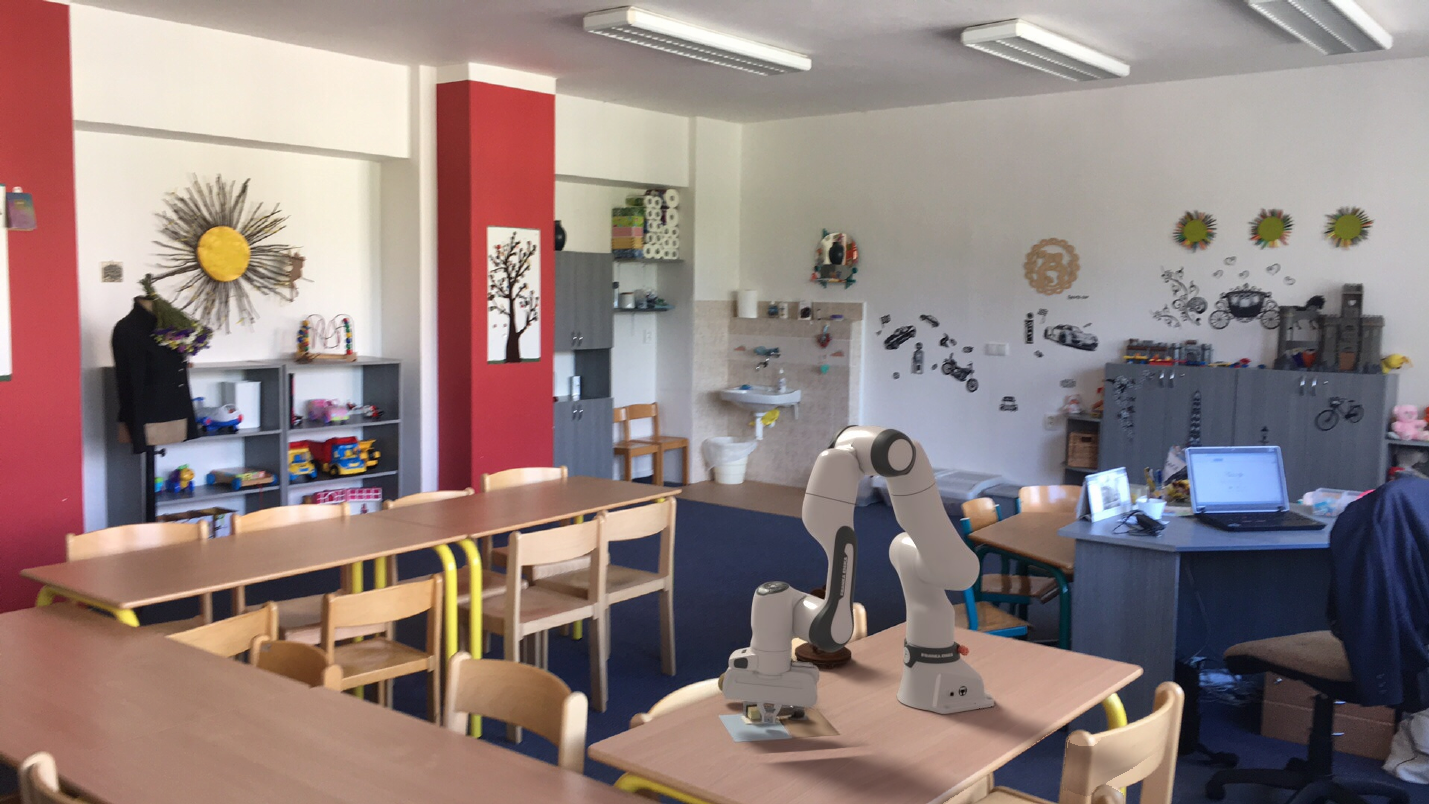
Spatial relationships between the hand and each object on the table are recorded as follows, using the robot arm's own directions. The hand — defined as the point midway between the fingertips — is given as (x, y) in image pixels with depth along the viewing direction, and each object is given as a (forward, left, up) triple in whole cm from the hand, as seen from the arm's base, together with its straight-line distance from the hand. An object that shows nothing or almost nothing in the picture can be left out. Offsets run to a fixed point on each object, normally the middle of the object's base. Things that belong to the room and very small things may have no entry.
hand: (769, 722), depth 230 cm
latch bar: (-3, -5, -1) cm, 6 cm away
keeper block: (+2, -8, -1) cm, 8 cm away
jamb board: (-9, -2, -3) cm, 10 cm away
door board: (+3, -2, -3) cm, 4 cm away
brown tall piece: (-28, -46, -3) cm, 54 cm away
